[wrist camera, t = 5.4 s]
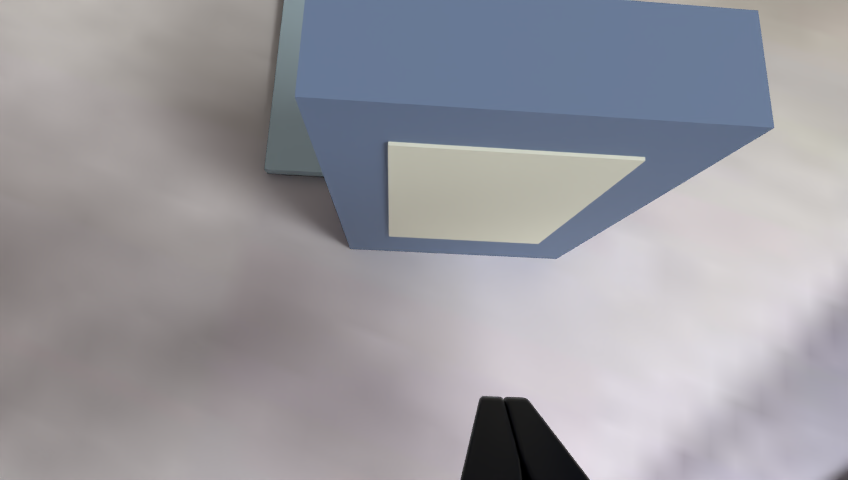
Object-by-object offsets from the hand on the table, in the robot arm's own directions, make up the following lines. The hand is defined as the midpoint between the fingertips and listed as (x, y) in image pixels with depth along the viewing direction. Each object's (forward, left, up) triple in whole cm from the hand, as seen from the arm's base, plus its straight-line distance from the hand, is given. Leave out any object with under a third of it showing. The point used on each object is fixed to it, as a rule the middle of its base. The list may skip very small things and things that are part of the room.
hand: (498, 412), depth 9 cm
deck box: (+4, +4, -7) cm, 9 cm away
